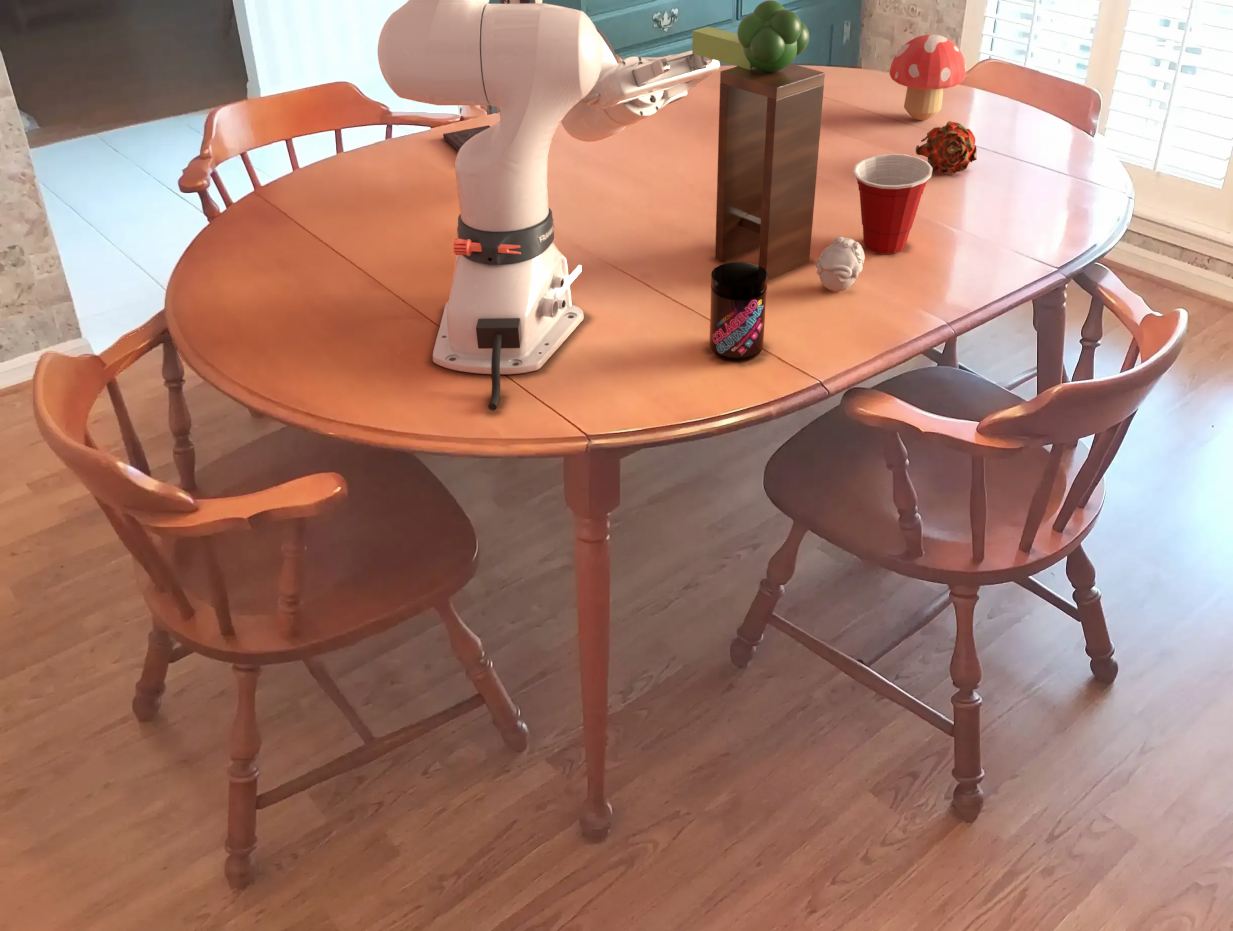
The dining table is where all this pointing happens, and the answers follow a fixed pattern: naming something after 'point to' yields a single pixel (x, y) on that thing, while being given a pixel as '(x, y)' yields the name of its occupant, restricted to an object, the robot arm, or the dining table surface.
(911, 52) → the decorative mushroom
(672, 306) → the dining table surface
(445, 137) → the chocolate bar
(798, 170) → the wooden stand
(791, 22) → the broccoli
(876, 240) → the plastic cup
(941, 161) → the dragon fruit
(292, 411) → the dining table surface
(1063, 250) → the dining table surface
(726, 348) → the supplement container
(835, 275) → the white rounded carved piece
